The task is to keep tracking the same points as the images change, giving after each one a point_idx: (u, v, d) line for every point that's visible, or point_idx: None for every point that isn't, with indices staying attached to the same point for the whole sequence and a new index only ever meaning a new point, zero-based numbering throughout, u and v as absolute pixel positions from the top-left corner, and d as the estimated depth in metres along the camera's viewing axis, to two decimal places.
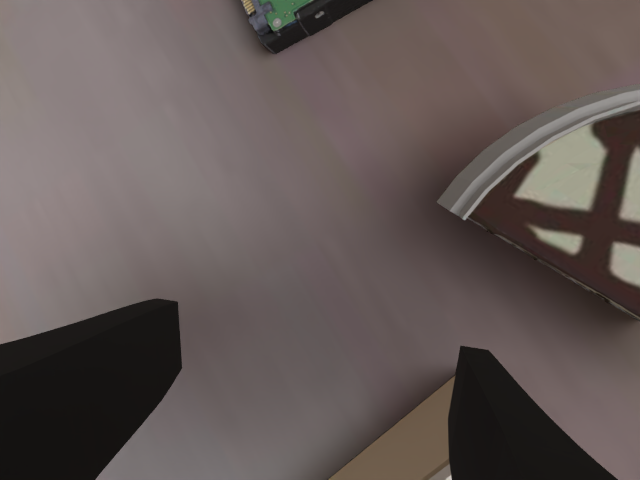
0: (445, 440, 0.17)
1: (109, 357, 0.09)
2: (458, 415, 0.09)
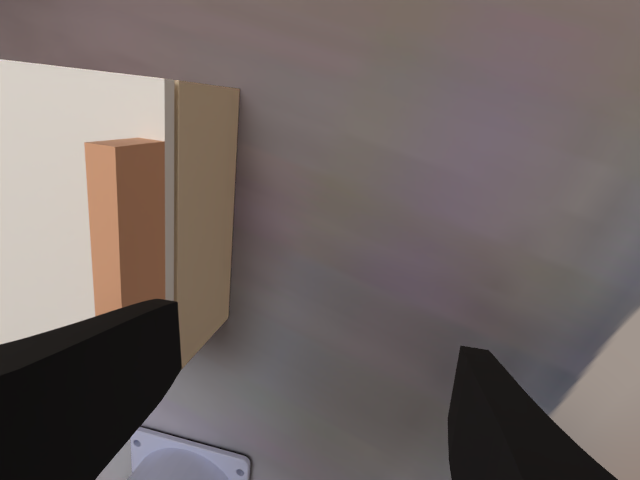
0: None
1: (109, 357, 0.09)
2: (458, 415, 0.09)
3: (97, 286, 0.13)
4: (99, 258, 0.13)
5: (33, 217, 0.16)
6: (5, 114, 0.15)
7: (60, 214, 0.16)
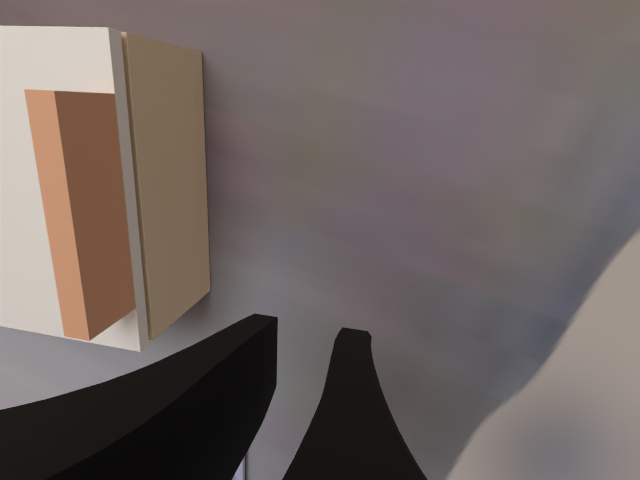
0: None
1: (232, 381, 0.08)
2: None
3: (52, 241, 0.13)
4: (51, 211, 0.13)
5: None
6: None
7: (22, 180, 0.16)
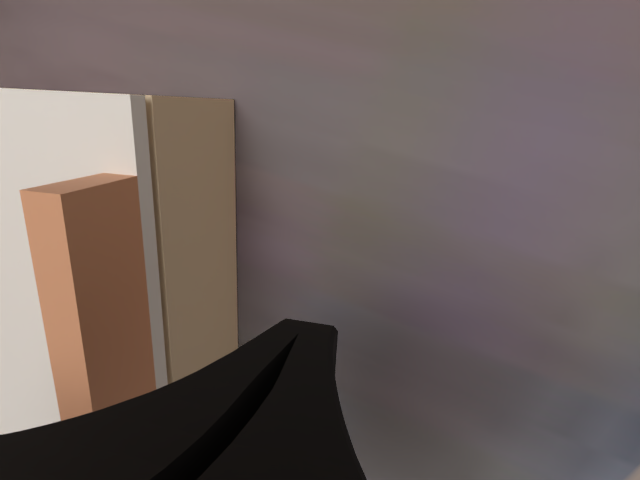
0: None
1: (271, 388, 0.08)
2: None
3: (57, 375, 0.10)
4: (56, 340, 0.10)
5: None
6: None
7: (18, 272, 0.13)
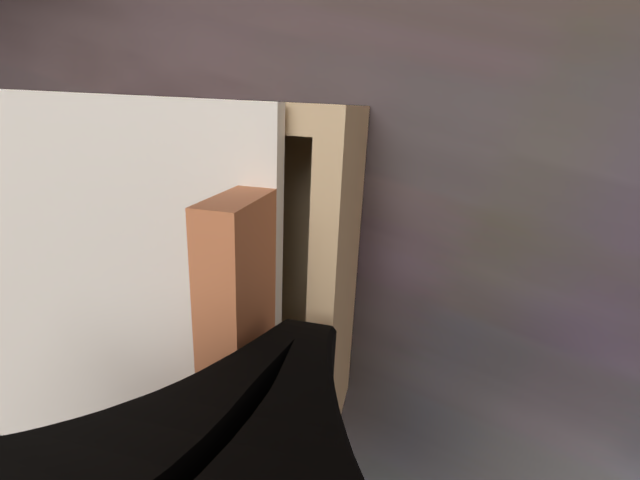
0: None
1: None
2: None
3: None
4: None
5: (92, 294, 0.12)
6: (51, 163, 0.11)
7: (128, 289, 0.12)
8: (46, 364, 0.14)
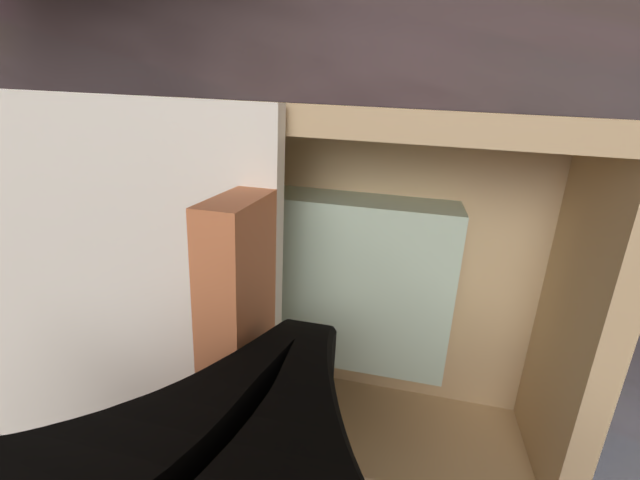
0: None
1: None
2: None
3: None
4: None
5: (92, 294, 0.12)
6: (51, 162, 0.11)
7: (129, 289, 0.12)
8: (46, 364, 0.14)
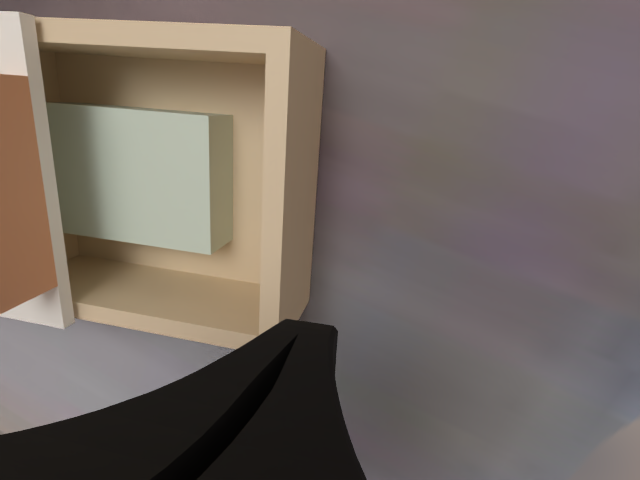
0: None
1: (271, 388, 0.08)
2: None
3: None
4: None
5: None
6: None
7: None
8: None
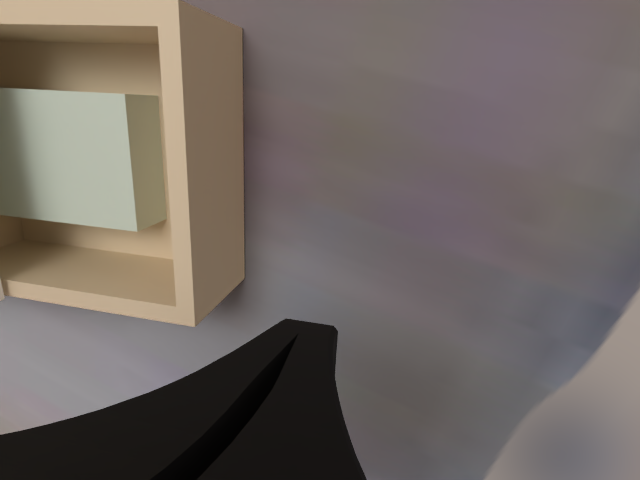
0: None
1: (271, 388, 0.08)
2: None
3: None
4: None
5: None
6: None
7: None
8: None
